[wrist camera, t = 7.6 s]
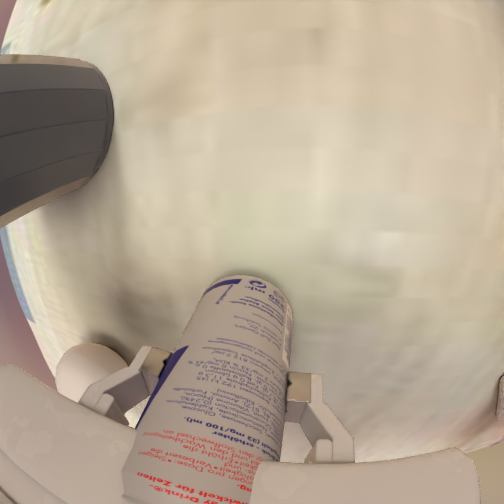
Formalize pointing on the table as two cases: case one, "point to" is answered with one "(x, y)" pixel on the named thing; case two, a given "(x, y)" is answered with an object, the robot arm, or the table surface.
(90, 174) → the pencil pot
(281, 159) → the table surface
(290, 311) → the energy drink
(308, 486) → the robot arm
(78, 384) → the seamed sphere
